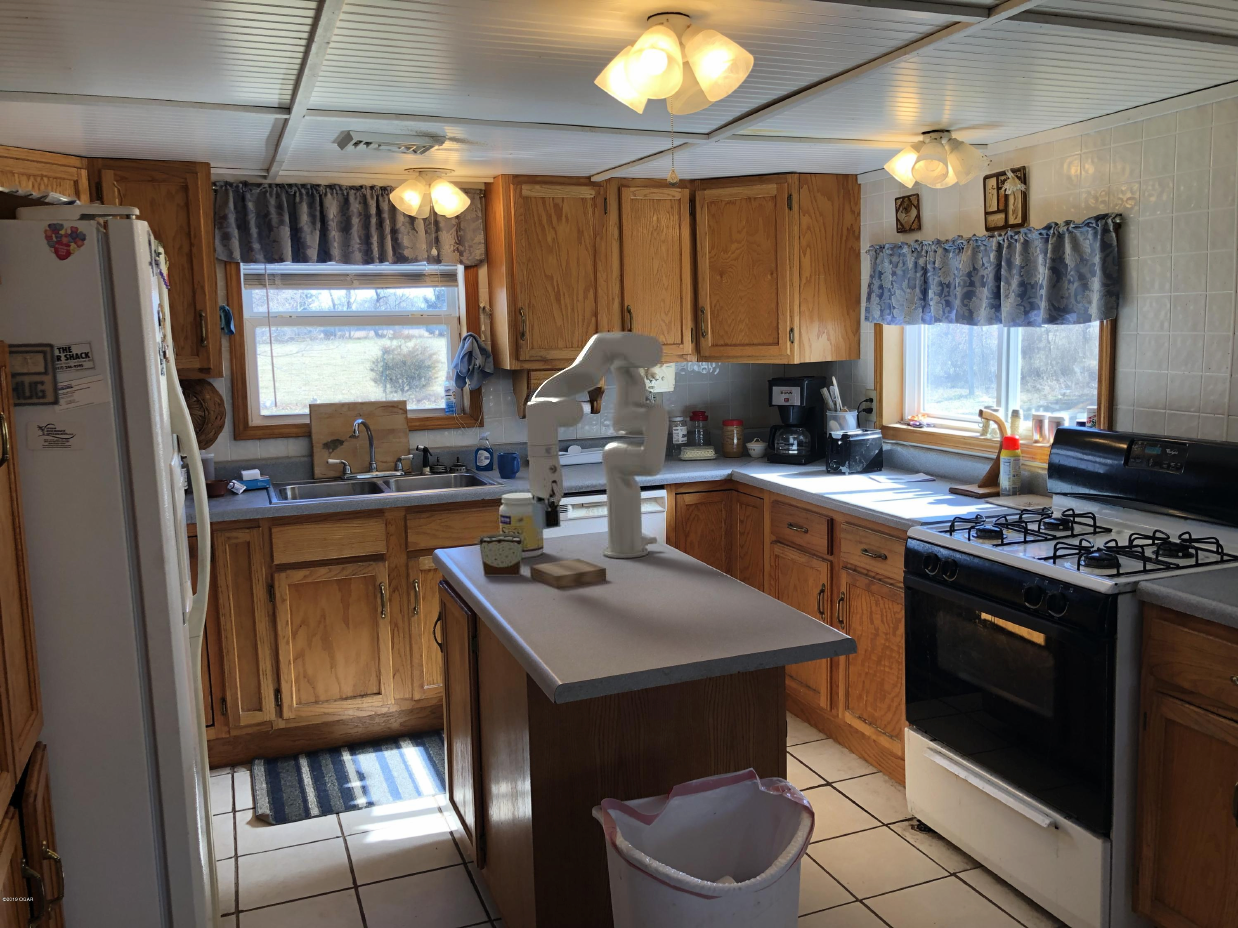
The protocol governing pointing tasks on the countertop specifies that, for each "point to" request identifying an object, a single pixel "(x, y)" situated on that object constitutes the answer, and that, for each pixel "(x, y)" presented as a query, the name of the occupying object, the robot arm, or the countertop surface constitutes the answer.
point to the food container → (501, 554)
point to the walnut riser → (568, 573)
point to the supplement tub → (521, 522)
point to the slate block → (541, 515)
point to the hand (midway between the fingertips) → (546, 523)
